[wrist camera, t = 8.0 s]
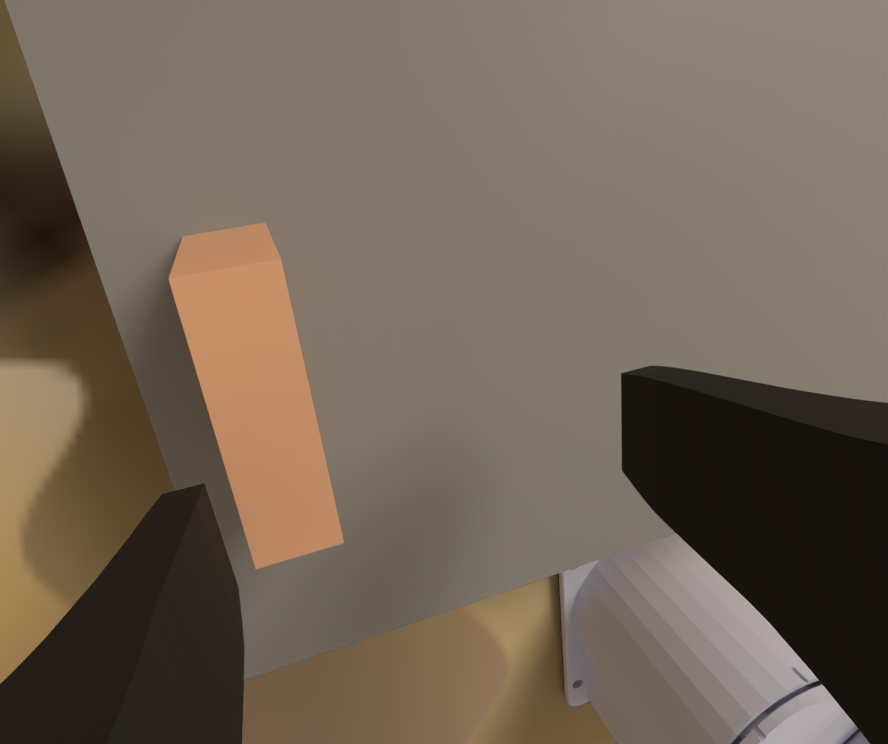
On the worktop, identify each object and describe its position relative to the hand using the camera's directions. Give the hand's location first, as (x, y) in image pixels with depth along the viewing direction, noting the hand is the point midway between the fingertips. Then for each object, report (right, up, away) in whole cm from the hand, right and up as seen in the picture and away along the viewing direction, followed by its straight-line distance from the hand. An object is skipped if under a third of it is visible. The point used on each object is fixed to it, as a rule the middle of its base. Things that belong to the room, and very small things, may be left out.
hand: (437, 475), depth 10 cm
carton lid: (+5, +4, +5) cm, 8 cm away
